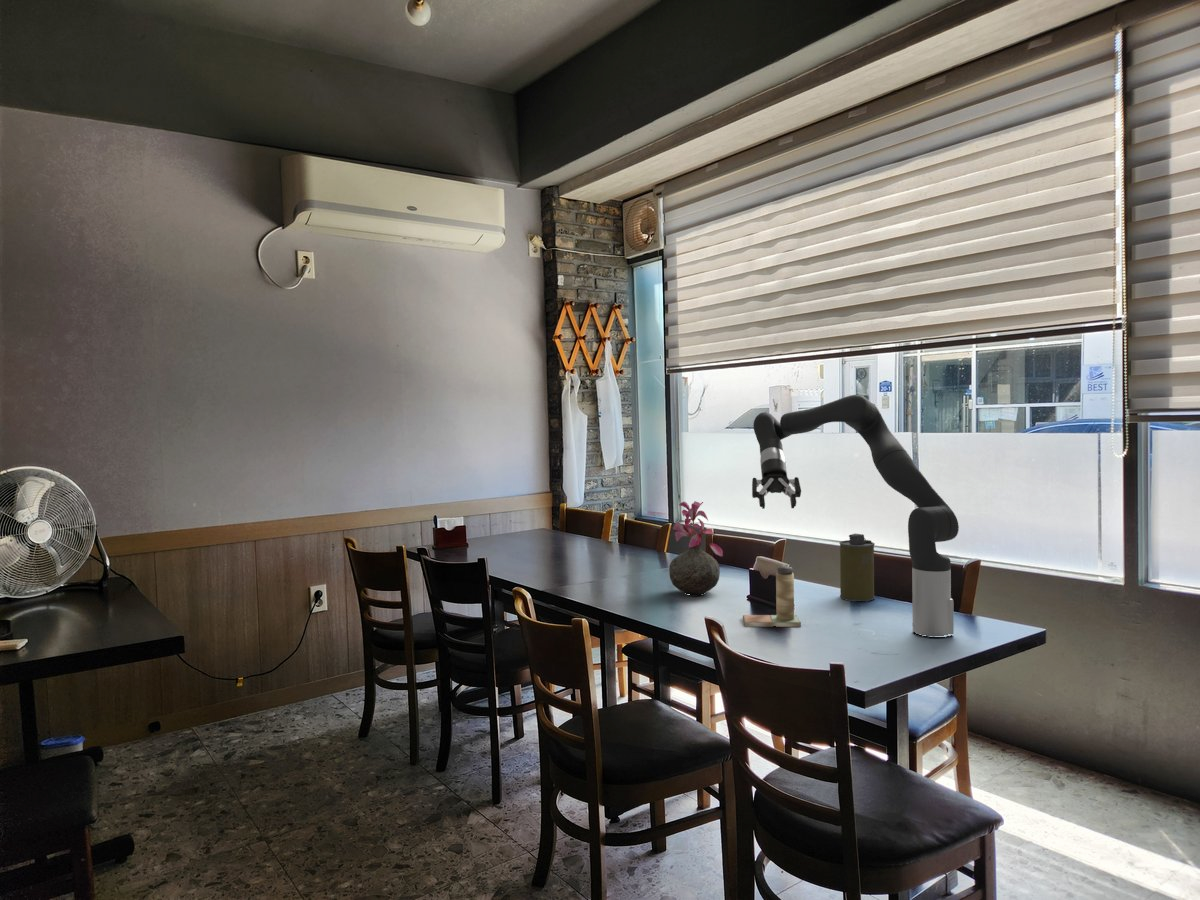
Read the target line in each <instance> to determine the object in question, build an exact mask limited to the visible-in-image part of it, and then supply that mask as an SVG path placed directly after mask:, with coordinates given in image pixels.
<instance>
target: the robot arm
mask: <svg viewBox="0 0 1200 900" xmlns="http://www.w3.org/2000/svg"><path fill="white" fill-rule="evenodd" d="M830 423H845V424H846V425H847V426H849V427H850V428H851V429H853V430H855V431H856V432H857V433H858V434H859V435H860V437H862V439H863V440H864V442H865V443H866V444H867V445H868V448H869V450H870V454H871V457H872V461H873V464H874V466H875V468H876V470H877V472H878V473H879V474H880V476H881V477H882V479H883V480H884V482H885V483H886V484H887V485H888V486H889V487H890V488H892V489H893V490H895V491H896V492H897V493H899V494H900V495H902V496H904V497H905V498H907V499H908V500H910V501H911V502H912V503H914V505H916V507H917V508H914V509H913V510H912V511H911V512H910V514H909V516H908V521H907V522H908V523H907V533H908V534H907V535H908V549H909V551H908V552H909V556H910V560H911V565H912V566H911V567H912V570H911V571H912V573H911V574H912V576H911V577H912V578H911V579H912V583H911V584H912V585H911V586H912V587H911V588H912V589H911V590H912V591H911V592H912V593H911V594H912V595H911V596H912V597H911V598H912V603H911V604H912V608H911V609H912V613H911V614H912V617H911V618H912V625H911V626H912V633H913V632H915V633H917V634H921V635H926V636H944V635H948V634H954V632H955V631H954V628H955V627H954V622H955V621H954V613H955V612H954V609H955V608H954V599H953V598H952V595H951V594H952V593H951V591H952V589H951V588H952V584H951V583H952V582H951V581H952V578H951V577H952V574H951V573H952V572H951V570H952V568H951V567H952V566H951V565H952V564H951V563H952V562H951V559H950V558H949V556H946V555H942V554H941V553H939V552H938V551H937V546H936V543H942V542H948V541H951V540H954V539H955V538H956V537H957V535H958V533H959V529H960V525H959V521H958V519H957V516H956V514H955V513H954V511H953V509H952V508H951V507H950V506H949V504H947V502H945V501H944V499H943V498H942V496H940V495H939V493H937V491H936V490H935V489H934V488H933V487H932V485H931V484H930V483H929V481H928V480H927V479H926V477H925V476H924V475H923V473H922V472H921V471H920V469H919V468H918V466H917V465H916V463H915V462H914V460H913V459H912V457H911V455H910V454H909V452H908V451H907V450H906V449H905V448H904V446H903V445H902V444H901V442H900V441H899V440H898V439H897V438H896V437H895V436H894V434H893V433H892V432H891V431H890V428H889V427H888V425H887V424H886V422H885V419H884V418H883V416H882V414H881V411H880V410H879V408H878V407H877V406H876V404H875V403H873V402H871V400H869V399H868V398H866V397H865V396H863V395H861V394H852V395H847V396H845V397H842V398H838V399H837V400H834V401H830V402H828V403H825V404H822V405H819V406H815V407H812V408H807V409H804V410H803V409H802V410H797V411H790V412H787V413H784V414H782V416H781V417H780V421H778V419H776V417H775V416H774V415H772V413H770V412H767V411H763V412H760V413H758V415H756V416H755V418H754V420H753V430H754V431H753V432H754V434H755V437H756V441H757V442H758V445H759V454H760V455H759V456H760V457H759V461H760V471H761V473H760V474H761V479H757V478H756V477H753V478H752V481H751V482H752V483H751V496H752V499H756V498H757V499H758V503H759V507H760V508H761V509H764V510H765V507H766V502H765V496H767V495H768V494H769V493H771V494H774V493H776V494H777V493H779V494H782V493H783V494H784V495H785V496H788V497H789V498H790V499H789V500H790V508H791V509H795V507H796V506H797V498H800V497H801V494H802V488H801V484H800V479H799V477H797V476H795V477H794V478H791V479H789V477H788V472H787V466H786V463H787V462H786V458H785V455H784V454H785V453H784V449H783V444H782V440H783V439H786V438H788V437H790V436H792V435H798V434H803V433H804V434H805V433H810V432H812V431H814V430H816V429H818V428H820V427H821V426H823V425H824V424H830ZM760 485H761V486H762V488H761V489H760V490H759V491H757V488H758V487H759V486H760ZM790 485H791V486H792V487H793V488H794V489H793V488H792V487H791V486H790ZM954 635H955V634H954Z"/></svg>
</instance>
